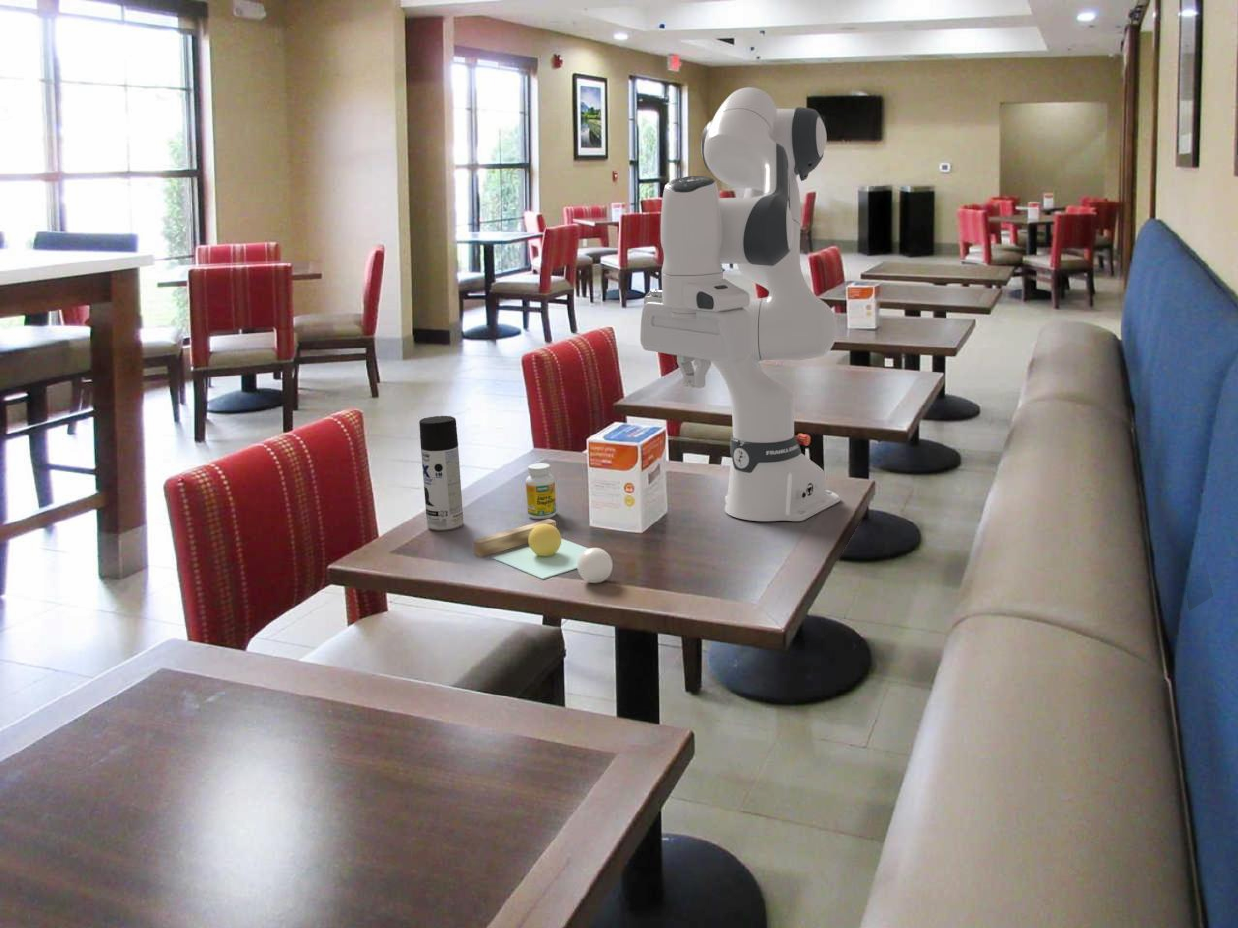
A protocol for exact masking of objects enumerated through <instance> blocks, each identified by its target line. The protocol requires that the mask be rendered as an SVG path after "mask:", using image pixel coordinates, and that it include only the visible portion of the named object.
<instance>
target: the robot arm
mask: <svg viewBox="0 0 1238 928" xmlns="http://www.w3.org/2000/svg"><path fill="white" fill-rule="evenodd" d="M701 135H702V136H701V141H700V142H701V143H700V150H701V151H700V152H701V156H702V160H703V163H704V166H705V168H706V170H707V171H708V172H710V173H711V174H712V175H713V176H714V177H716V179H717V180H719V181H721V182H722V183H724V184H726V185H727V186H731V187H735V188H743V189H744V194H743V197H720V192H719V188H718V183H717V181H716V180H715V179H714V178H712V177H708V176H705V175H703V176H702V175H689V176H683V177H678V178H675V179H672V180H670V181H668V182H667V183H666V184H665V185H664V189H663V193H662V199H661V200H662V201H661V208H660V209H661V210H660V244H661V245H660V246H661V249H662V250H663V251H662V252H663V262H662V263H663V264H662V266H661V289H659V288H658V289H657V288H652V289H650V290H649V291H648V292H647V293H646V294H645V296H644V298H643V308H642V312H641V321H640V336H639V337H640V339H639V340H640V345H641V346H642V348H643V350H645V351H650V352H656V353H660V354H668V355H673V356H676V362H677V365H678V367H679V369H680V371H681V374H682V382H683V383H682V384H683V386H685V387H691V388H695V389H701V388H705V387H706V375H707V374H708V372H709V369H710V367H711V366H712V365H713V366H714V367H715V369H716V370H717V371H718V372H719V374H720V375H721V377H722V379H723V380H724V382H725V384H726V388H727V389H728V394H729V398H730V399H729V400H730V405H731V416H732V421H731V422H732V434H731V435H730V442H729V448H730V457H731V461H730V466H729V475H728V488H727V489H728V490H727V494H725V497H724V502H725V506H724V512H725V513H726V514H728V515H729V516H731V517H732V518H733V517H734V518H736V519H740V520H746V521H754V522H777V521H779V522H780V521H788V522H802V521H805V520H807V519H809V518H810V517H813V516H815V515H816V514H818V513H820V512H822V511H824V510H826V509H828V508H829V507H831V506H834V505H835V504H837V503H839V502H840V496H839V495H838V494H837V493H836V492H833V491H831V490H828V489H827V486H828V485H827V476H826V473H825V471H824V470H823V468H821V466H819V465H818V464H817V463H815V462H814V461H812V460H811V459H809V458H808V457H807V456H806V455H805V454H803V453H802V450H801V447H800V445H803V446H804V447H805V446H806V447H807V446H809V445H810V443H811V439H812V438H811V436H810V435H809V434H803V433H798V434H797V435H796V434H795V397H794V393H793V392H792V391H791V389H790V388H789V387H788V386H787V385H785V384H784V382H783V383H782V382H781V381H779V380H777V379H775V378H773V377H771V376H769V375H768V374H766V373H765V371H764V370H763V368H762V367H761V363H760V362H763V361H774V362H775V361H776V362H777V361H780V362H781V361H785V362H786V361H789V362H792V361H793V362H795V361H796V362H799V361H806V360H811V359H815V358H817V359H818V358H820V357H824V356H826V355H827V354H828V353H829V352H830V351H831V349H832V348H833V346H834V344H835V342H836V339H837V337H838V336H837V335H838V322H837V318H836V316H835V313H834V311H833V310H832V308H831V307H830V305H828V304H827V302H825V301H824V300H823V299H821V298H820V297H818V296H817V295H816V294H815V293H814V292H813V291H812V289H811V288H810V287H809V286H808V284H807V282H806V280H805V278H804V275H803V272H802V267H801V255H800V254H801V253H800V252H801V251H800V247H801V246H800V245H801V229H802V227H801V224H802V223H801V221H802V209H801V196H800V190H799V189H800V188H799V183H798V180H797V176H799V179H800V181H801V182H804V181H805V180H807V179H808V177H809V173H811V172H812V171H814V170H815V169H816V168H817V167H818V165H819V164H820V163H821V161H822V159H823V158H824V154H825V150H826V146H827V138H828V137H827V136H828V135H827V131H826V126H825V123H824V122H823V119H822V116H821V114H820V113H819V112H818V111H817V110H816V109H813V108H809V107H800V106H797V107H796V108H777V106H776V103H775V101H774V100H773V98H772V97H771V96H770V95H769V94H768V93H767V92H766V91H764V90H762V89H760V88H757V87H742V88H739V89H736V90H735V91H733V92H732V93H731V94H730V95H729V96H728V97H727V98H726V99H725V100H724V101H723V102H722V103H721V104H720V106H719V108H718V109H717V110H716V112H715V114H714V116H713V119H711V120H710V121H709V122H708V123H707V125H705V127H704V129H703V130H702V134H701ZM723 264H725V265H727V264H729V265H730V264H731V265H732V264H733V265H735V264H736V265H737V268H738V271H739V272H740V274H742V275H743V277H745V278H746V279H747V280H749V281H751V282H753V283H755V284H757V285H758V286H761V287H763V288H764V289H766V290H767V291H768V295H767V296H765V297H762V298H761V297H755V298H754V297H753V298H752V297H751V296H750V293H749V292H748V291H747V290H745V289H744V288H741V287H739V286H737V285H735V284H734V283H732V282H731V281H729V280H727V279H726V278H724V269H723V268H724V267H723ZM692 362H693V364H692ZM693 365H695V366H696V369H694V367H693Z"/></svg>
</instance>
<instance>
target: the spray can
mask: <svg viewBox="0 0 1238 928" xmlns="http://www.w3.org/2000/svg"><path fill="white" fill-rule="evenodd" d="M418 423H419V439H420V440H419V442H420V455H421V456H420V457H421V466H422V477H423V490H424V503H425V514H426V515H425V516H426V525H427V527H428V528H429V530H432V531H434V532H448V531H449V532H450V531H453V530H458V529H459V528H461V527H462V526H463V525H464V511H463V497H462V496H463V494H462V483H461V482H462V480H461V470H460V469H461V468H460V453H459V452H460V451H459V441H458V429H457V420H456V418H455V417H453V416H451V415H436V416H428V417H423V418H421V419H420V420H419V422H418Z"/></svg>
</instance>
